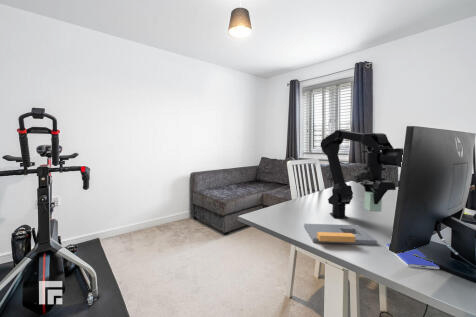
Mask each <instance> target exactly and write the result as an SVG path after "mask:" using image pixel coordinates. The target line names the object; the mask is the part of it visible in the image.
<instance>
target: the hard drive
mask: <svg viewBox="0 0 476 317" xmlns="http://www.w3.org/2000/svg"><path fill="white" fill-rule="evenodd" d="M389 244H390V243H386V244H385V247H386V246H387V247H388V248H387V247H386V248H387V249H388V250H389ZM413 254H417V255H419V256H420V257H427V256H426V255H424V253H422V252H421V251H419V250H418V249H417V248H416V249H415V250H412V251H408V252H404V253H399V254H394V255H395V256H396V257H397V258H398V259H399V260H400V261H401V262H402V263H403V264H404V265H406V266H407V267H408V268H409V267H410V268H421V269H433V270H440V265H438V264H437V265H436V263H435V262H434V261H432V262H430V261H427V260H425V259H423V258H419V257H416V256H414V255H413ZM433 262H434V263H435V264H434V263H433Z"/></svg>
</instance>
